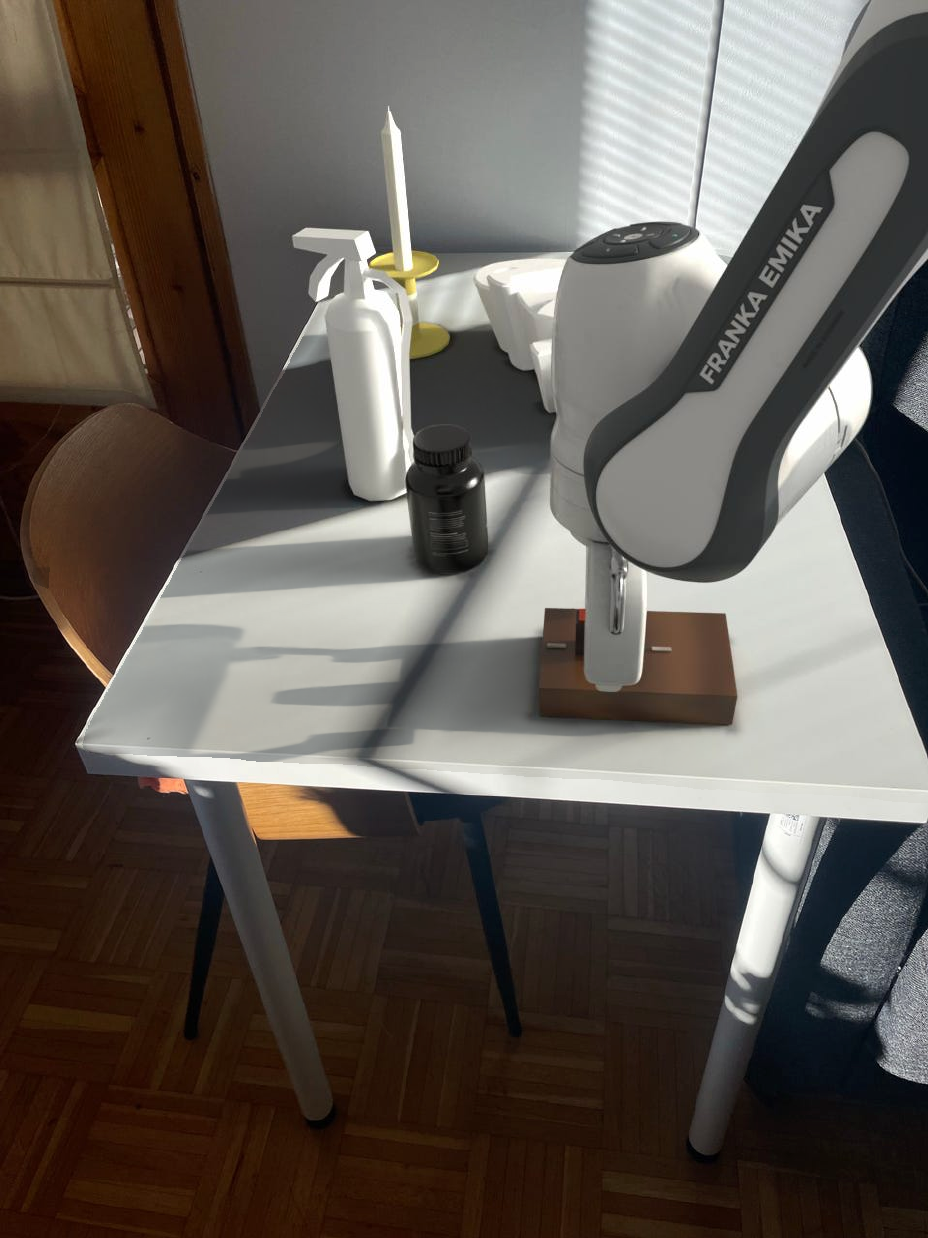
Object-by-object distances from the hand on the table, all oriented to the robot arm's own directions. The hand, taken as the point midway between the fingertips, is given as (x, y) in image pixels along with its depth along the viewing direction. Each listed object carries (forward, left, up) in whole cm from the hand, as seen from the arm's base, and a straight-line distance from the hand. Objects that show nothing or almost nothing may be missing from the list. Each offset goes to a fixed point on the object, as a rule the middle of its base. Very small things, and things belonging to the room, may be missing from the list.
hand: (607, 640), depth 71 cm
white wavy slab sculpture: (+38, -32, -4) cm, 50 cm away
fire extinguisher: (+34, -3, -4) cm, 34 cm away
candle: (+60, -24, -4) cm, 64 cm away
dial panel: (-1, -2, -4) cm, 4 cm away
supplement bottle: (+21, -1, -4) cm, 21 cm away
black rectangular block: (0, 0, -1) cm, 1 cm away
